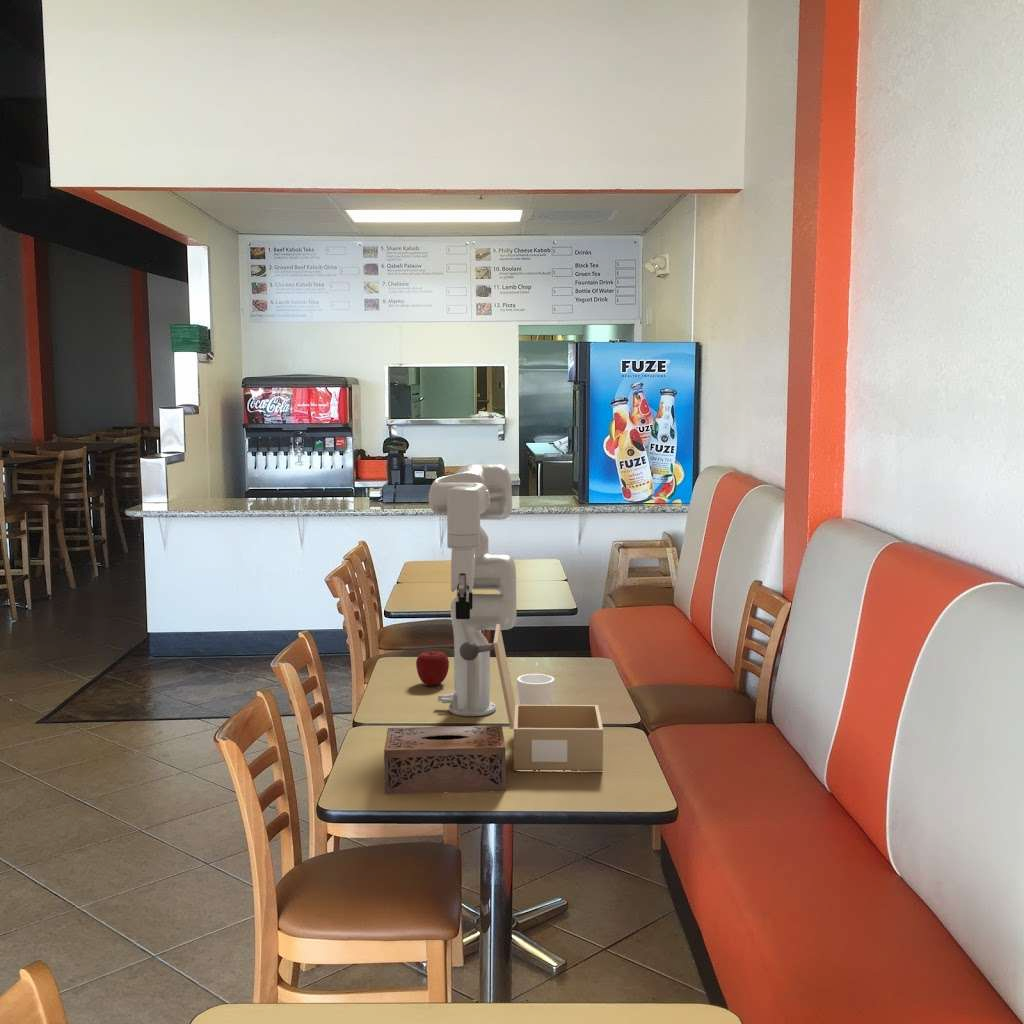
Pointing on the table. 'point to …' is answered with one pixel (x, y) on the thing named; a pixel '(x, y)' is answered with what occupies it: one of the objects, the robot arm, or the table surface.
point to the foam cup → (535, 689)
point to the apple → (432, 667)
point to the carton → (558, 738)
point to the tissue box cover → (445, 759)
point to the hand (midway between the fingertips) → (464, 613)
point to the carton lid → (471, 652)
